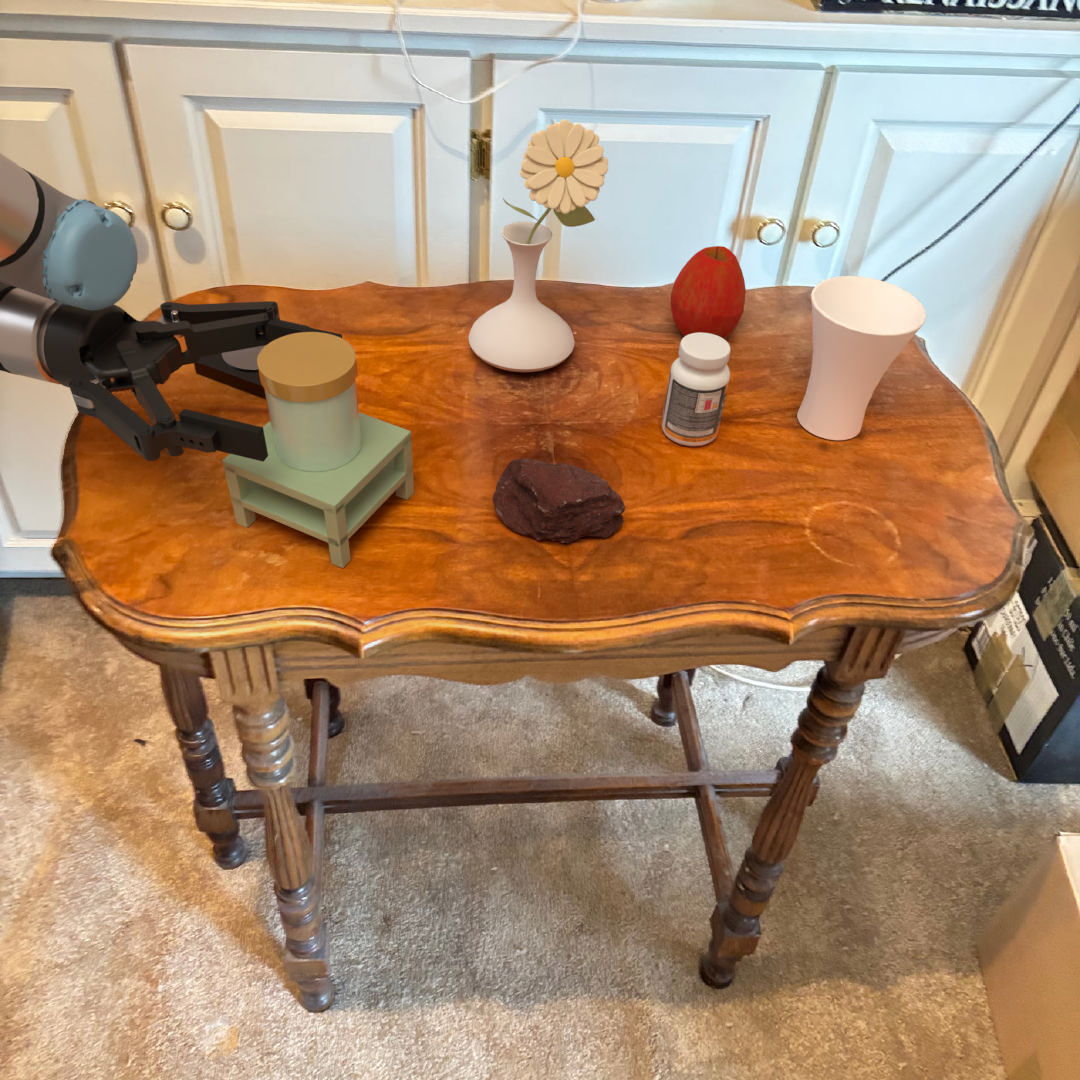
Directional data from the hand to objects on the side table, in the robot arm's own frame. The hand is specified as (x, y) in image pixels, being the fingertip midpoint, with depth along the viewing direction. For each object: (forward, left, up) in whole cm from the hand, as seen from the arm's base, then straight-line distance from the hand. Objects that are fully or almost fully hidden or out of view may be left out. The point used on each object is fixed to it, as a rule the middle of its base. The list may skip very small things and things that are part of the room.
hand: (305, 394), depth 74 cm
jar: (+1, 0, -5) cm, 5 cm away
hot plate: (-18, +14, -12) cm, 26 cm away
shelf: (+1, 0, -12) cm, 12 cm away
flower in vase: (+5, +31, -12) cm, 34 cm away
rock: (+19, +9, -12) cm, 24 cm away
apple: (+20, +45, -12) cm, 51 cm away
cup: (+37, +36, -12) cm, 53 cm away
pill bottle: (+25, +27, -12) cm, 39 cm away
